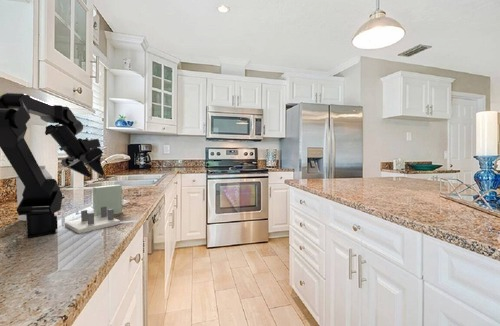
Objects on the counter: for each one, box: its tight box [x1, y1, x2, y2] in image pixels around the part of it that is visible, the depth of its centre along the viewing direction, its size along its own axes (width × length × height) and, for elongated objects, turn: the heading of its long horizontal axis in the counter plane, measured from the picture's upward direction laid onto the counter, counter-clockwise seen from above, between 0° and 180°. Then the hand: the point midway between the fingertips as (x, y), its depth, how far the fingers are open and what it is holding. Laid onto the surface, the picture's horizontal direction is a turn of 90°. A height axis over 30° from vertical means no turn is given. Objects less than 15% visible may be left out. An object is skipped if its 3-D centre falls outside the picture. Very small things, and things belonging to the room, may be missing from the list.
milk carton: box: [15, 165, 53, 222], centre depth 88 cm, size 7×7×19 cm
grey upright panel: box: [92, 184, 123, 216], centre depth 94 cm, size 9×3×11 cm, turn 143°
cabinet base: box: [64, 207, 121, 234], centre depth 81 cm, size 12×12×5 cm
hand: (96, 175), depth 93 cm, fingers open, 9 cm apart
